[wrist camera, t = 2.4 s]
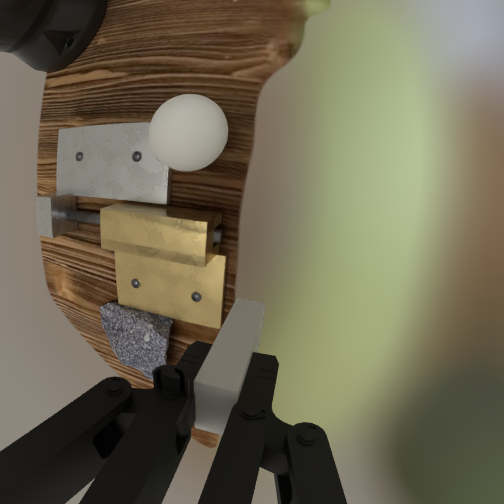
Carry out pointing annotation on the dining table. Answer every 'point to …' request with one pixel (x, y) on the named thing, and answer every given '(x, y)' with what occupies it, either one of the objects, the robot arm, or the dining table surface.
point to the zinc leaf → (103, 174)
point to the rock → (137, 336)
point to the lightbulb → (188, 132)
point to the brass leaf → (167, 260)
